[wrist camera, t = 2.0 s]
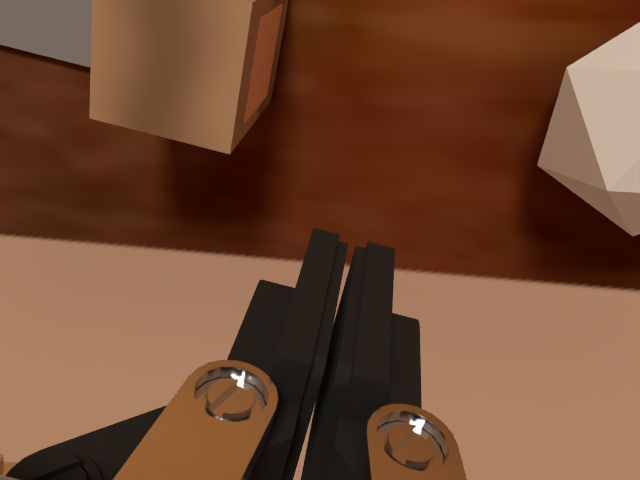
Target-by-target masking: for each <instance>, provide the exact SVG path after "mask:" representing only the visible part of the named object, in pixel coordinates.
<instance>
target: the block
mask: <svg viewBox="0 0 640 480" xmlns="http://www.w3.org/2000/svg"><path fill="white" fill-rule="evenodd" d="M288 1H289V0H92V29H91V75H90V118H91V119H94V120H98V121H102V122H106V123H110V124H114V125H118V126H122V127H126V128H129V129H133V130H137V131H141V132H145V133H149V134H153V135H157V136H161V137H164V138H168V139H172V140H176V141H180V142H184V143H188V144H192V145H195V146H199V147H203V148H207V149H211V150H215V151H219V152H223V153H227V154H231V152H232V151H233V150H234V149H235V147H236V146H237V145H238V143H239V142H240V141H241V139H242V138H243V137H244V136H245V134H246V133H247V132H248V130H249V129H250V128H251V126H252V125H253V124H254V123H255V121H256V120H257V119H258V117H259V116H260V115H261V113H262V112H263V111H264V110H265V108H266V107H267V106H268V104H269V103H270V102H271V97H272V92H273V86H274V80H275V75H276V69H277V63H278V58H279V52H280V46H281V41H282V35H283V29H284V24H285V18H286V12H287V7H288Z"/></svg>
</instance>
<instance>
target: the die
mask: <svg viewBox="0 0 640 480" xmlns="http://www.w3.org/2000/svg"><path fill="white" fill-rule="evenodd" d="M537 166H539V167H540V168H541V169H543V170H544V171H545V172H547V173H548V174H549V175H551V176H552V177H553V178H555V179H556V180H558V181H559V182H560V183H562V184H563V185H564V186H566V187H567V188H568V189H570V190H571V191H572V192H574V193H575V194H576V195H578V196H579V197H580V198H582V199H583V200H584V201H586V202H587V203H588V204H590V205H591V206H592V207H594V208H595V209H596V210H598V211H599V212H601V213H602V214H603V215H605V216H606V217H607V218H609V219H610V220H611V221H613V222H614V223H615V224H617V225H618V226H619V227H621V228H622V229H623V230H625V231H626V232H627V233H629V234H630V235H631V236H635V235H638V234H640V22H639V23H638V24H636V25H634V26H633V27H631V28H630V29H628V30H626V31H625V32H623V33H622V34H620V35H618V36H617V37H615V38H613V39H612V40H610V41H609V42H607V43H605V44H604V45H602V46H600V47H599V48H597V49H596V50H594V51H592V52H591V53H589V54H588V55H586V56H584V57H583V58H581V59H579V60H578V61H576V62H575V63H573V64H571V65H570V66H568V67H567V68H566V71H565V74H564V78H563V81H562V84H561V88H560V91H559V94H558V98H557V101H556V104H555V108H554V111H553V114H552V117H551V121H550V124H549V127H548V131H547V134H546V137H545V141H544V144H543V147H542V151H541V154H540V157H539V161H538V164H537Z"/></svg>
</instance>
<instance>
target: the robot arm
mask: <svg viewBox="0 0 640 480" xmlns="http://www.w3.org/2000/svg"><path fill="white" fill-rule="evenodd" d="M338 239H339V234H336V233H332V232H328V231H324V230H320V229H316V228H313V232H312V235H311V238H310V241H309V245H308V248H307V251H306V255H305V258H304V261H303V264H302V268H301V271H300V275H299V278H298V281H297V284H296V288H292V287H288V286H284V285H280V284H277V283H273V282H269V281H265V280H260V281H259V283H258V285H257V288H256V290H255V293H254V295H253V298H252V300H251V302H250V305H249V307H248V310H247V312H246V315H245V317H244V320H243V322H242V325H241V327H240V329H239V332H238V335H237V337H236V339H235V342H234V344H233V347H232V349H231V351H230V354H229V356H228V359H227V360H219V361H214V362H209V363H207V364H205V365H203V366H200V367H199V368H197V369H196V370H195V371H194V372H193V373H192V374H191V375H189V376H188V378H187V379H186V381H185V382H184V383H183V385H182V386H181V387H180V389H179V390H178V391H177V393H176V394H175V395H174V397H173V398H172V400H171V401H170V402H169V404H168V405H167V406H164V407H161V408H158V409H155V410H152V411H150V412H147V413H144V414H141V415H139V416H135V417H133V418H130V419H127V420H124V421H121V422H119V423H116V424H113V425H110V426H107V427H105V428H101V429H99V430H96V431H93V432H90V433H88V434H85V435H82V436H79V437H76V438H73V439H70V440H68V441H65V442H62V443H59V444H57V445H53V446H51V447H48V448H45V449H42V450H40V451H38V452H36V453H34V454H32V455H29V456H28V457H25V458H24V459H22V460H21V461H20V462H19V463H16V462H4V461H3V454H0V480H293V477H294V474H295V470H296V467H297V464H298V460H299V457H300V453H301V450H302V446H303V443H304V439H305V436H306V432H307V429H308V426H309V422H310V419H311V415H312V412H313V408H314V405H315V408H314V414H313V419H312V424H311V429H310V434H309V440H308V445H307V450H306V455H305V460H304V466H303V471H302V477H301V480H467V478H466V474H465V470H464V467H463V463H462V459H461V455H460V452H459V448H458V445H457V442H456V440H455V438H454V436H453V434H452V432H451V431H450V430H449V429H448V427H447V426H446V425H445V424H444V423H443V422H442V421H441V420H439V419H438V418H437V417H436V416H434V415H433V414H431V413H429V412H427V411H425V410H423V409H421V367H420V366H421V365H420V326H419V321H418V320H417V319H413V318H409V317H405V316H402V315H398V314H394V313H392V301H393V279H394V277H393V276H394V257H395V249H394V248H391V247H387V246H383V245H379V244H375V243H371V242H368V243H367V246H366V248H362V247H358V246H356V248H355V251H354V255H353V258H352V262H351V265H350V269H349V273H348V276H347V279H346V283H345V286H344V290H343V293H342V297H341V300H340V304H339V307H338V311H337V314H336V318H335V322H334V317H335V312H336V307H337V301H338V296H339V291H340V285H341V280H342V274H343V269H344V264H345V258H346V253H347V248H348V244H347V243H343V242H339V241H338ZM333 323H334V325H333ZM315 402H316V403H315Z"/></svg>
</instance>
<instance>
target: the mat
mask: <svg viewBox="0 0 640 480" xmlns="http://www.w3.org/2000/svg"><path fill="white" fill-rule="evenodd" d="M91 29H92V0H0V45H4V46H8V47H12V48H16V49H19V50H23V51H27V52H31V53H35V54H39V55H43V56H47V57H51V58H55V59H59V60H62V61H66V62H70V63H74V64H78V65H82V66H86V67H90V68H91Z"/></svg>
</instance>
